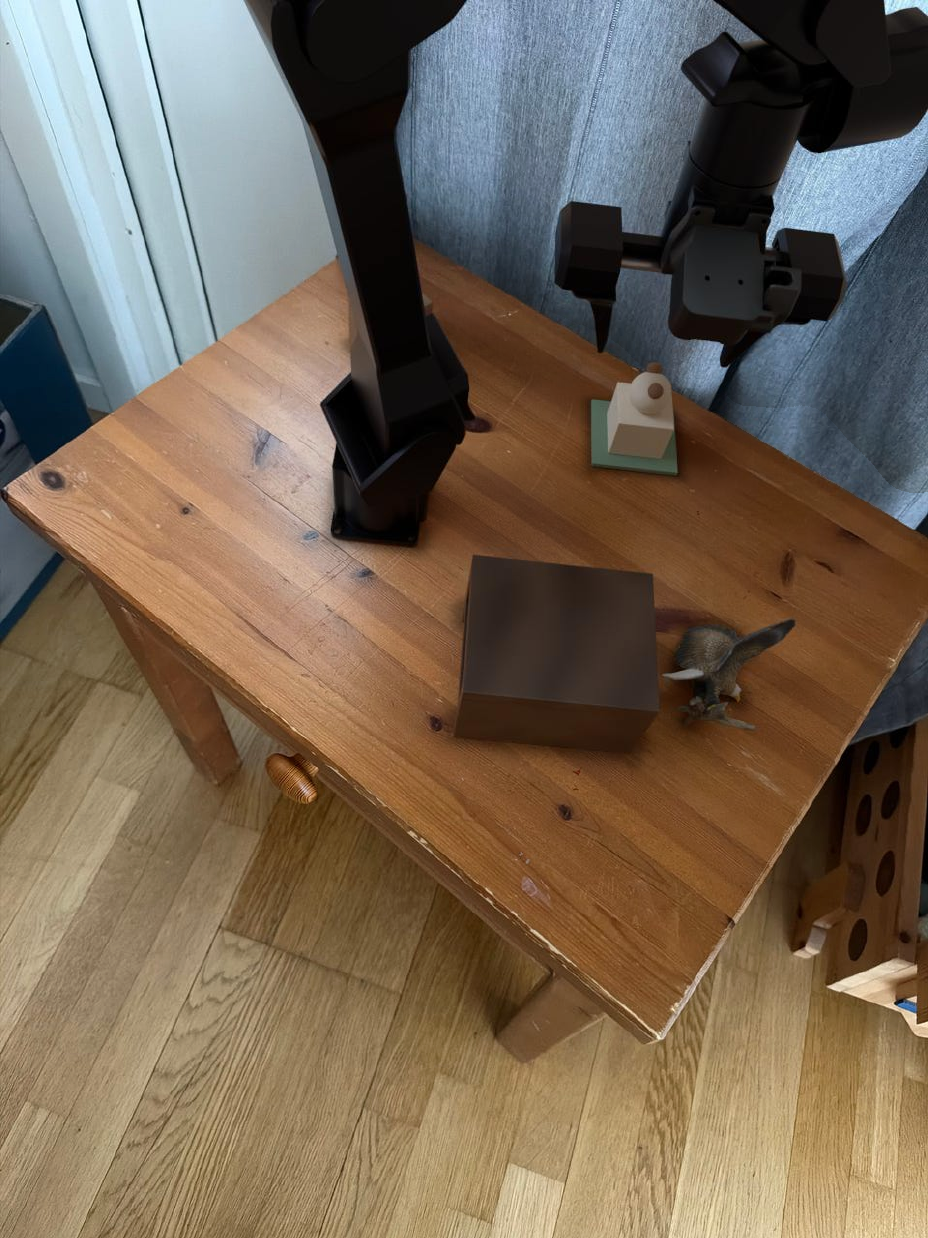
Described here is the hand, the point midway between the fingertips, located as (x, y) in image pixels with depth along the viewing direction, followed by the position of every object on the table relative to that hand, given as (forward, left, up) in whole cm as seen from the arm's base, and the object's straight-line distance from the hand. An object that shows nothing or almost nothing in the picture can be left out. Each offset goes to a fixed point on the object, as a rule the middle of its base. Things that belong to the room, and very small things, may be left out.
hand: (661, 356), depth 66 cm
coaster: (0, 0, -9) cm, 9 cm away
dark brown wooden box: (-7, -23, -9) cm, 26 cm away
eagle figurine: (+5, -22, -9) cm, 24 cm away
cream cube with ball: (0, 0, -9) cm, 9 cm away
